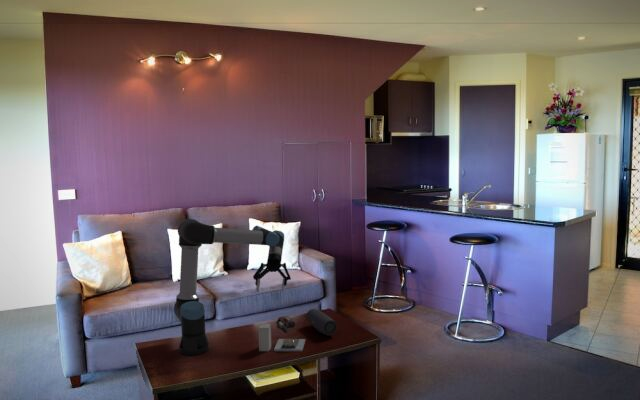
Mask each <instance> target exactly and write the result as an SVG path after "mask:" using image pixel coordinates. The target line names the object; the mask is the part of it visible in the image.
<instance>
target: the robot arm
mask: <svg viewBox="0 0 640 400" xmlns="http://www.w3.org/2000/svg"><path fill="white" fill-rule="evenodd" d="M177 234H178V246H179V248H181V253H180V254H181V256H180V257H181V258H180V272H179V273H180V274H179V275H180V276H179V278H180V279H179V293H178V294H177V295H176V296H175V297H176V298H175V304H174V306H173V311H174V314H175V317H176V318H177V319H178V321H180V324H181V325H180V326H181V328H180V329H181V338H180V342H179V345H178V352H179V354H182V355H185V356H196V355H200V354H203V353H206V352H208V351H209V350H210V348H211V346H210V344H211V343H210V341H209V339H208V336H207V334H206V317H205V315H206V314H205V312H206V311H205V305H204V304H203V303H202V302H200V296H199V295H198V293H197V287H198V286H197V285H198V268H199V265H198V263H199V250H200V249H199V248H201V247H202V245H213V244H214V243H215V244H216V243H219V244H238V245H261V246H268V256H267V260H266V263H264V262H261V263H260V266H259V268H258V269H257V270H256V271H255V272H254V274H253V276H252V278H253V280H255V286H256V287H255V289H256V292H257V293H259V292H260V286H261V279H262V278H264V276H266V275H267V274H268V273H276V272H277V273H278V274H280V276H281V277H282V282H281V284H282V285H281V292H283V293H284V292H285V287H286V286H287V285H288V284H287V283H288V280H289V281H290V280H291V279H292V278H291V275H290V274H289V273H290V272H289V271H288V268H287V263H286V262H283V263H282V258H283V249H284V242H285V233H284V232H283V231H282V230H278V229H277V230H273V231H271V230H270V229H269V230H268V229H266V228H264V227H262V226H259V225H254V226H253V228H251V229H243V228H242V229H239V228H238V229H237V228H225V227H215V226H214V225H212V224H211V225H209V224H205V223H202V222H199V221H198V220H197V219H194V218H186V219H184V220H182V221H181V222H179V225H178V227H177ZM281 268H283V269H284V272H285V273H284V272H283V271H282V270H281ZM285 274H286V275H285Z"/></svg>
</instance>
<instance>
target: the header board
mask: <svg viewBox="0 0 640 400" xmlns="http://www.w3.org/2000/svg"><path fill="white" fill-rule="evenodd" d="M283 340H285V346H287V340H290V346H292V340H294V346H296V348H281V347H282V345H283ZM305 343H306V338H278V340H277V342H276V344H275V346H274V349H273V352H303V350H304V348H305V347H304V346H305Z"/></svg>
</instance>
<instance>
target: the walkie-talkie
mask: <svg viewBox="0 0 640 400" xmlns="http://www.w3.org/2000/svg"><path fill="white" fill-rule="evenodd" d="M277 322H278V327H280V329H284V330H285V331H286V332H289V329H288V328H294V327H296V321H295V320H293V319H292V317H290V316H287V315H285V316H279V317H278V318H277Z"/></svg>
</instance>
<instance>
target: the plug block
mask: <svg viewBox="0 0 640 400" xmlns="http://www.w3.org/2000/svg"><path fill="white" fill-rule="evenodd" d="M271 327H272V326H271V323H260V324H259V326H258V352H270V351H269V350H271V348H272V329H271Z"/></svg>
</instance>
